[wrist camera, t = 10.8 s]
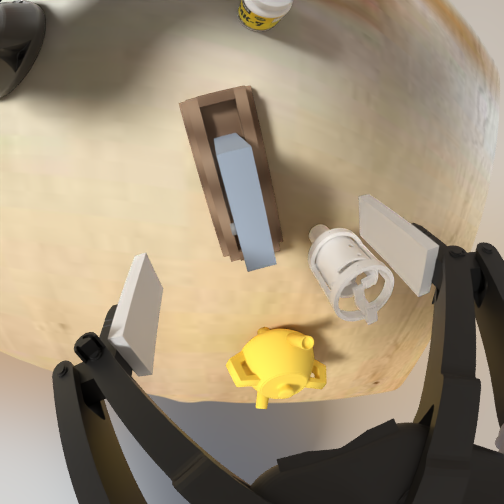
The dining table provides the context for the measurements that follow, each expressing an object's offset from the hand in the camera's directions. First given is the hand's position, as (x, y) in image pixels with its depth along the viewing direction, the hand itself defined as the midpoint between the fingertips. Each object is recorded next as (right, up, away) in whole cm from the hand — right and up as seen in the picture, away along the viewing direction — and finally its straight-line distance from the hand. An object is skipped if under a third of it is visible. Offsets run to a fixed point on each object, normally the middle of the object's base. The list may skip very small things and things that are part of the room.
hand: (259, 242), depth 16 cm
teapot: (+3, -17, +32) cm, 36 cm away
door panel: (-2, +8, +15) cm, 17 cm away
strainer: (+9, +2, +22) cm, 24 cm away
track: (-2, +9, +16) cm, 18 cm away
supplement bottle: (0, +26, +7) cm, 27 cm away
